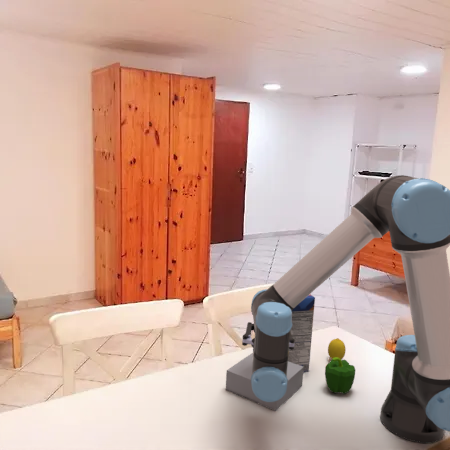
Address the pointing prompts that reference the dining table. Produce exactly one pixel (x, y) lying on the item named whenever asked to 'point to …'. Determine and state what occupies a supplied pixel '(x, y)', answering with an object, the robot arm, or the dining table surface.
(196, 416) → the dining table surface
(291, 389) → the hole block
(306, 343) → the juice carton
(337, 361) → the bell pepper
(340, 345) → the lemon
